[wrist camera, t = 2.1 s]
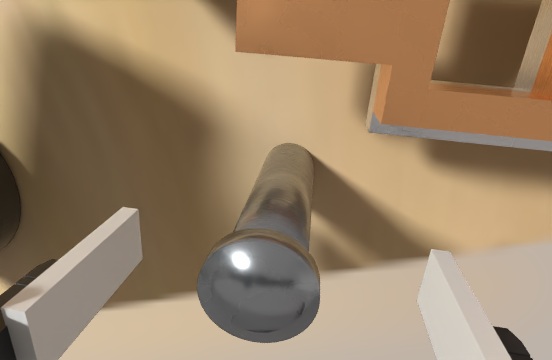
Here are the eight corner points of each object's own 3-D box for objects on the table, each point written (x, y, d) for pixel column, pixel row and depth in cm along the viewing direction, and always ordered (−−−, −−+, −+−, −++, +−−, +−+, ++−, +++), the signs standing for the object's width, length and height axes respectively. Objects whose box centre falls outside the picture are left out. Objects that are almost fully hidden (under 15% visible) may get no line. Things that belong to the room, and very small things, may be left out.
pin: (256, 191, 27) (197, 333, 14) (260, 133, 25) (196, 234, 12) (316, 198, 27) (312, 350, 14) (324, 140, 25) (327, 252, 12)
